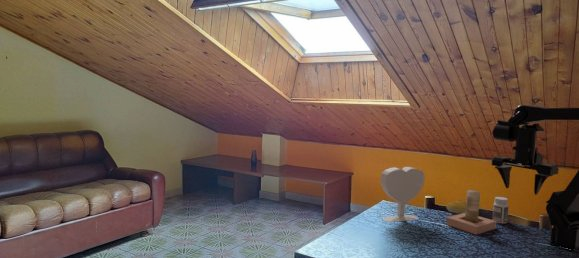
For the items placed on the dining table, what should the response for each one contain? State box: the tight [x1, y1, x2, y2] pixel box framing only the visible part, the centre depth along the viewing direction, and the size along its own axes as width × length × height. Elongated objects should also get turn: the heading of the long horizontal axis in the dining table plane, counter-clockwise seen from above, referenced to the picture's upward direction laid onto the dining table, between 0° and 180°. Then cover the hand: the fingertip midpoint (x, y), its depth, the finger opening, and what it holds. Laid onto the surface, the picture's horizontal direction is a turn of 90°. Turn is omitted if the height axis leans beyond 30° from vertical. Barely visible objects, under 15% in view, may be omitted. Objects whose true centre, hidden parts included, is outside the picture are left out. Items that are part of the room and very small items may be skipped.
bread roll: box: [445, 200, 466, 215], centre depth 157 cm, size 8×9×4 cm
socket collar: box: [446, 213, 497, 235], centre depth 140 cm, size 11×11×2 cm
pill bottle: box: [491, 196, 509, 224], centre depth 146 cm, size 5×5×8 cm
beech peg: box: [465, 189, 481, 223], centre depth 139 cm, size 4×4×12 cm
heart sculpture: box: [380, 166, 426, 223], centre depth 146 cm, size 16×5×18 cm, turn 109°
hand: (521, 191), depth 136 cm, fingers open, 9 cm apart
